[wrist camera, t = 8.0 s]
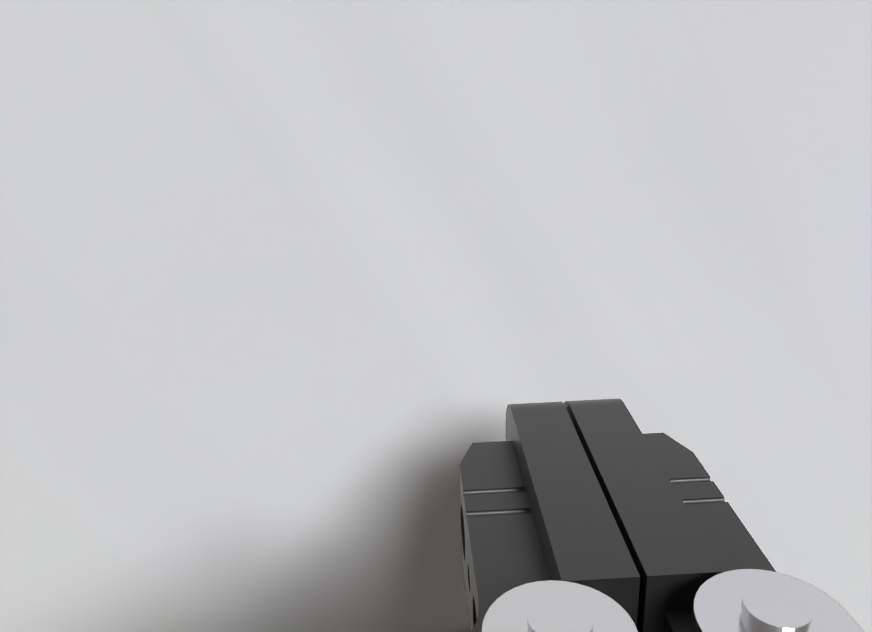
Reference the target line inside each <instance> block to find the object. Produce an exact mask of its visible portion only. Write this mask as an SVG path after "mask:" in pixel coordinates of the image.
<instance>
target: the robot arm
mask: <svg viewBox="0 0 872 632" xmlns="http://www.w3.org/2000/svg"><path fill="white" fill-rule="evenodd" d="M460 504H461V542H462V566H463V574H464V583H465V591H466V600H467V608H468V615H469V625H470V632H865V631H864V630H863V629H862V628H861V627H860V625H859V624H858V623H857V622H856V621H855V620H854V619H853V617H852V616H851V615H850V614H849V613H848V612H847V611H846V610H845V609H844V608H843V607H842V606H841V605H840V604H839V603H838V602H837V601H836V600H834V599H833V598H832V597H831V596H829V595H828V594H827V593H825V592H823V591H822V590H820V589H818V588H817V587H815V586H813V585H811V584H809V583H807V582H805V581H803V580H800V579H797V578H795V577H792V576H789V575H785V574H782V573H778V572H776V571H775V570H774V568H773V567H772V565H771V564H770V562H769V561H768V560H767V558H766V557H765V555H764V554H763V552H762V551H761V550H760V548H759V547H758V545H757V544H756V542H755V541H754V539H753V538H752V537H751V535H750V534H749V532H748V531H747V529H746V528H745V526H744V525H743V524H742V522H741V521H740V519H739V518H738V516H737V515H736V513H735V512H734V511H733V509H732V508H731V506H730V505H729V503H728V502H725V501H724V496H723V495H722V493H721V492H720V490H719V489H718V488H717V486H716V485H715V483H714V482H713V481H712V482H711V481H710V476H709V475H708V473H707V472H706V470H705V469H704V467H703V466H702V465H701V463H700V462H699V460H698V459H697V457H696V456H695V454H694V453H693V452H692V451H690V450H689V449H687V448H686V447H684V446H683V445H681V444H680V443H678V442H676V441H675V440H673V439H672V438H670V437H669V436H667V435H666V434H664V433H651V434H642V433H641V431H640V429H639V428H638V426H637V424H636V423H635V421H634V419H633V418H632V416H631V414H630V413H629V411H628V409H627V408H626V406H625V404H624V403H623V401H622V400H621V399H603V400H583V401H566V402H564V403H563V402H548V403H528V404H508V406H507V411H506V441H502V442H483V443H472V445H471V446H470V448H469V450H468V451H467V453H466V455H465V457H464V458H463V460H462V462H461V463H460Z"/></svg>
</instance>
